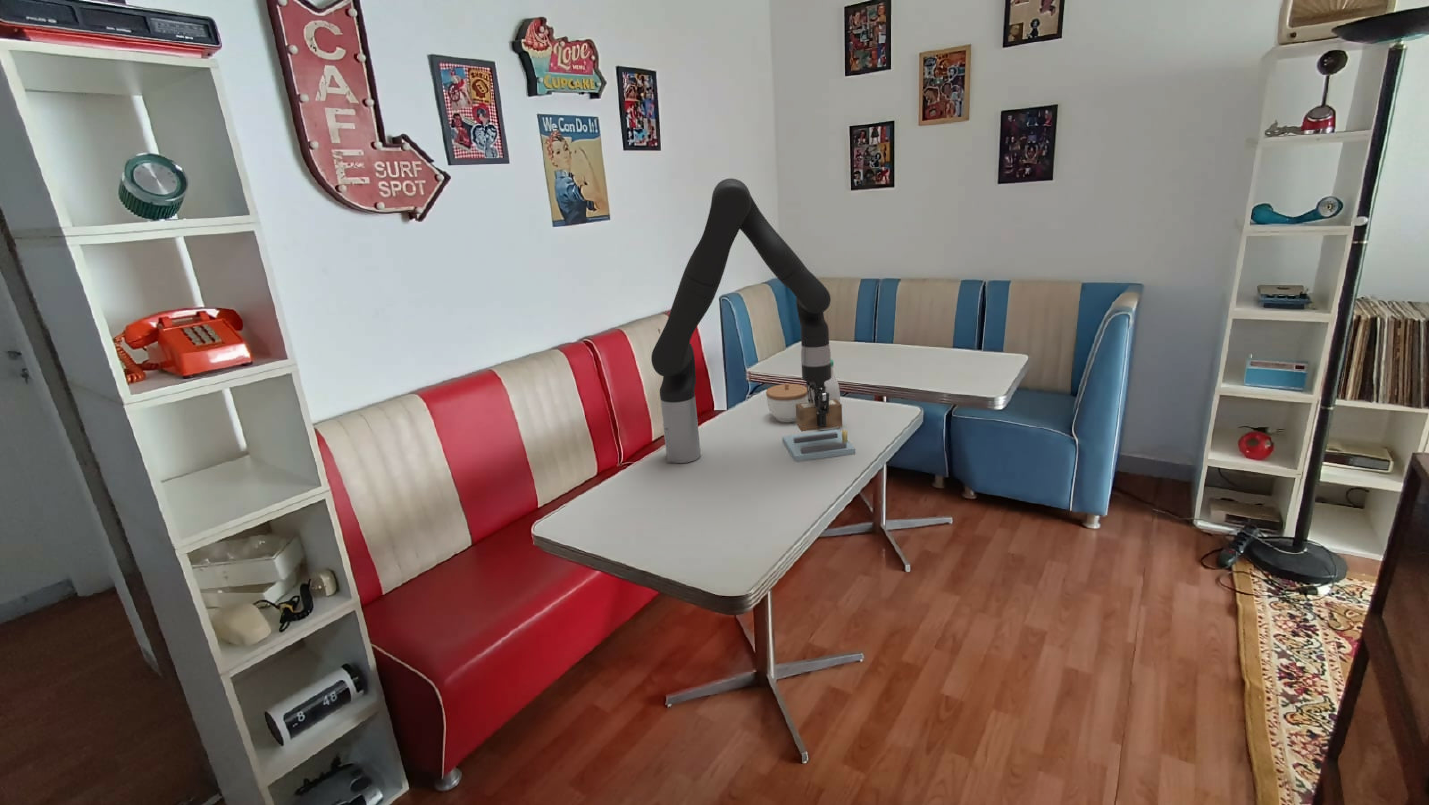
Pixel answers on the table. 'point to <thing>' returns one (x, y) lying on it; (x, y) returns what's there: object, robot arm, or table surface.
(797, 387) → the lidded bowl
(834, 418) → the wooden block
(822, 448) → the light blue flat tray
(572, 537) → the table surface
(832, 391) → the milk bottle
